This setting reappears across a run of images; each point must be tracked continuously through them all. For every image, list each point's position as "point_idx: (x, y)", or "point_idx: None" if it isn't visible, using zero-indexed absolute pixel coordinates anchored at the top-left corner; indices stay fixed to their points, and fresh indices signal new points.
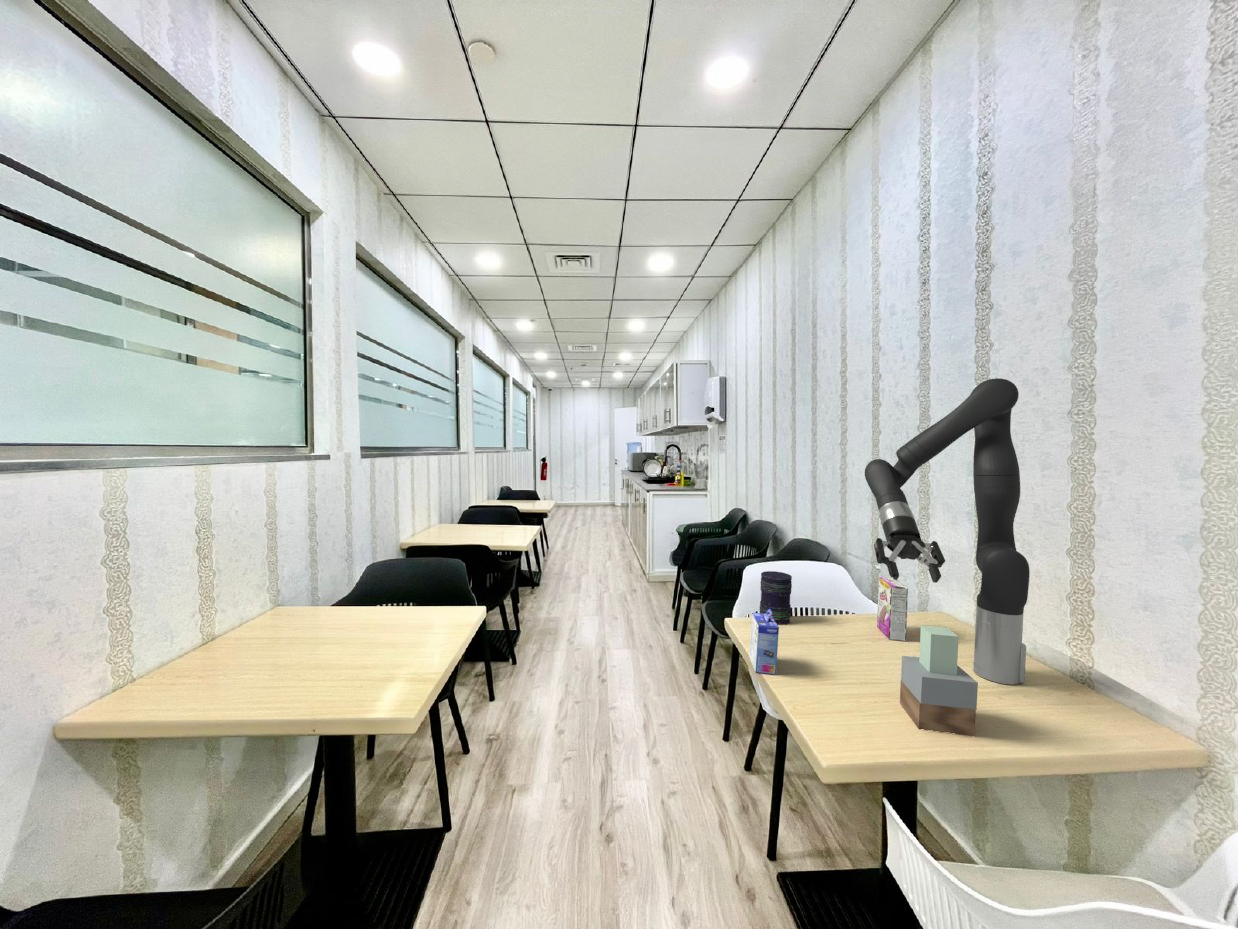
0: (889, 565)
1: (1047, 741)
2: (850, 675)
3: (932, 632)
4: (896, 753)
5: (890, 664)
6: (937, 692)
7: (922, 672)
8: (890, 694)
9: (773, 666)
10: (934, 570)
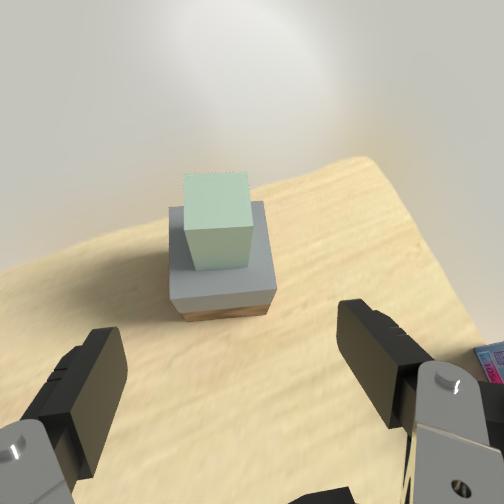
0: (425, 353)
1: (80, 269)
2: (341, 408)
3: (239, 182)
4: (297, 186)
5: None
6: None
7: (257, 217)
8: (275, 344)
9: (490, 344)
10: (90, 362)
